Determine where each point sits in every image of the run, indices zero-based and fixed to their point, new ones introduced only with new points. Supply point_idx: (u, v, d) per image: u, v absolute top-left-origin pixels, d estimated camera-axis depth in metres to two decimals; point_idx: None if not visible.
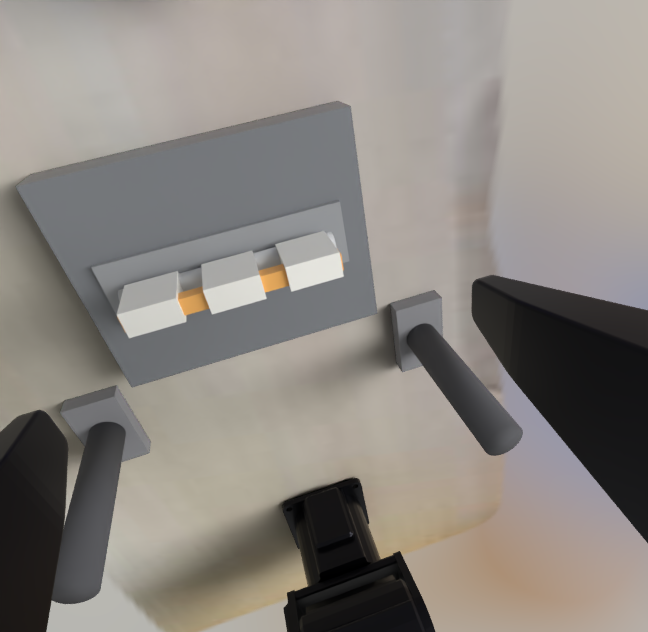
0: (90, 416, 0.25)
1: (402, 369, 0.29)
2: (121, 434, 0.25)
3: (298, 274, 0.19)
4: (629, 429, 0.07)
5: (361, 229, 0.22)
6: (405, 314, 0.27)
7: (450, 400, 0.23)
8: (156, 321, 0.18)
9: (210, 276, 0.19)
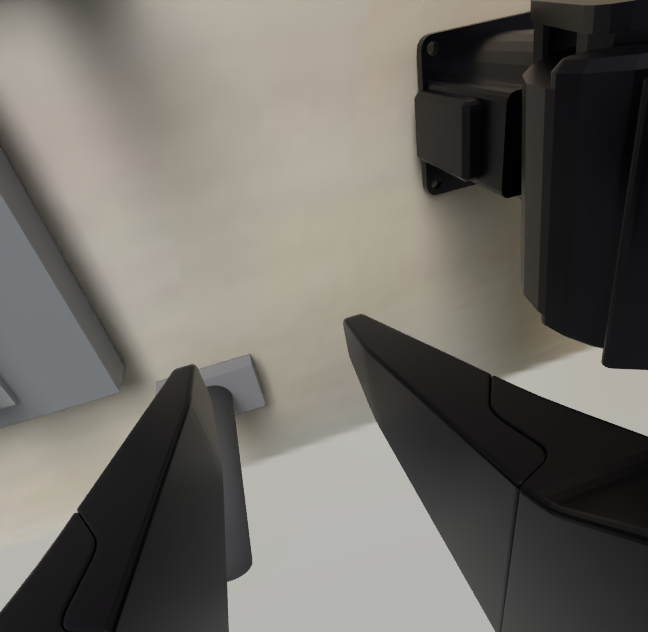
0: None
1: None
2: None
3: None
4: (449, 493, 0.06)
5: None
6: None
7: None
8: None
9: None
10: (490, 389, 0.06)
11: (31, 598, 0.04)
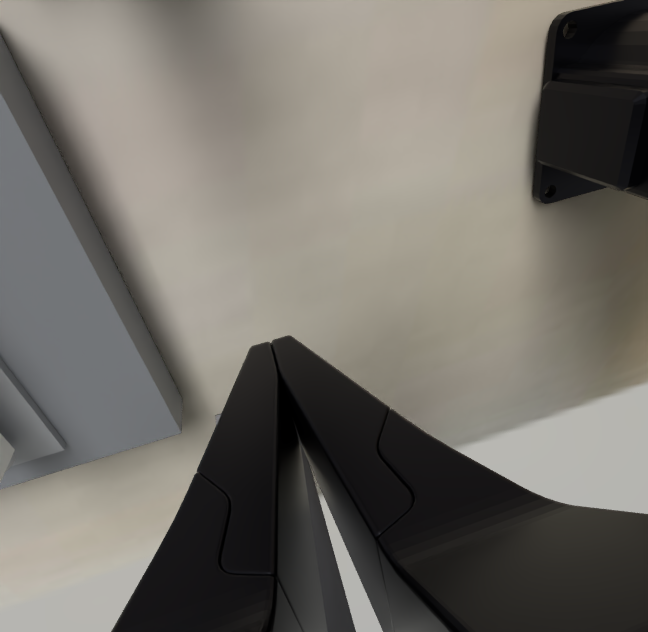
0: None
1: None
2: None
3: None
4: (348, 530, 0.06)
5: None
6: None
7: None
8: None
9: None
10: (383, 424, 0.06)
11: (180, 546, 0.05)
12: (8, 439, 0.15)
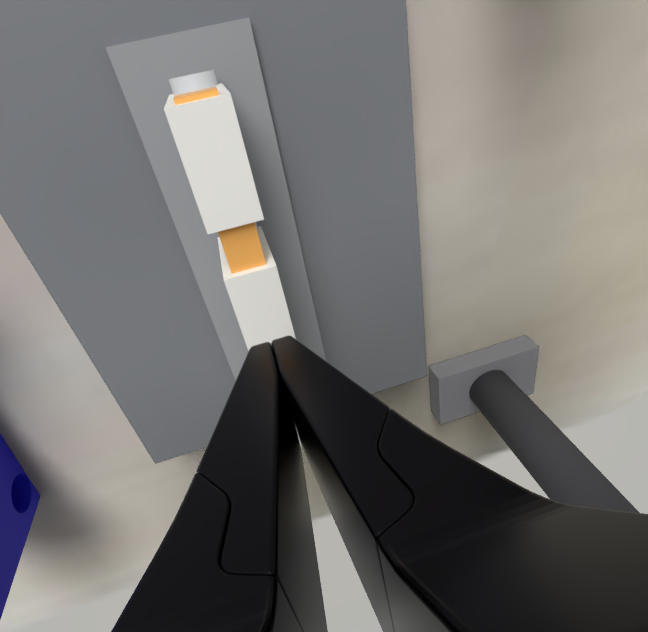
0: (456, 400, 0.21)
1: None
2: (493, 380, 0.20)
3: (224, 206, 0.09)
4: (348, 529, 0.06)
5: None
6: None
7: None
8: None
9: None
10: (383, 424, 0.06)
11: (180, 546, 0.05)
12: None
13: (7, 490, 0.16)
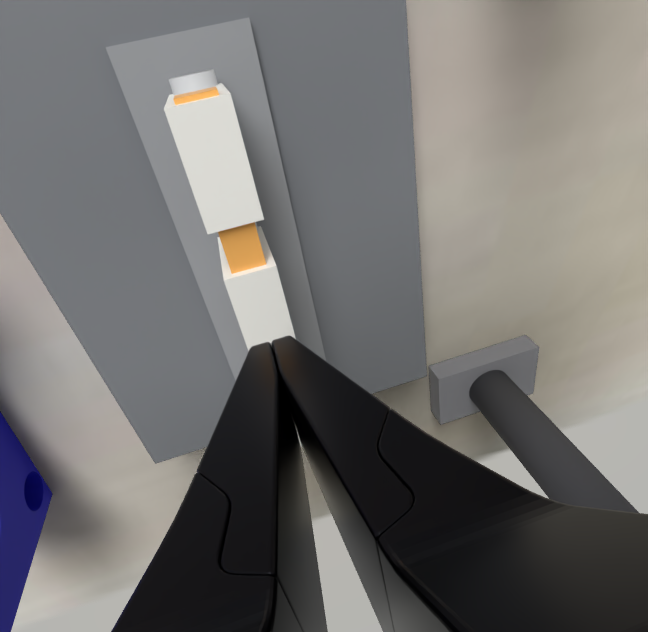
0: (456, 400, 0.21)
1: None
2: (493, 380, 0.20)
3: (224, 206, 0.09)
4: (348, 529, 0.06)
5: None
6: None
7: None
8: None
9: None
10: (383, 424, 0.06)
11: (180, 546, 0.05)
12: None
13: (20, 488, 0.16)
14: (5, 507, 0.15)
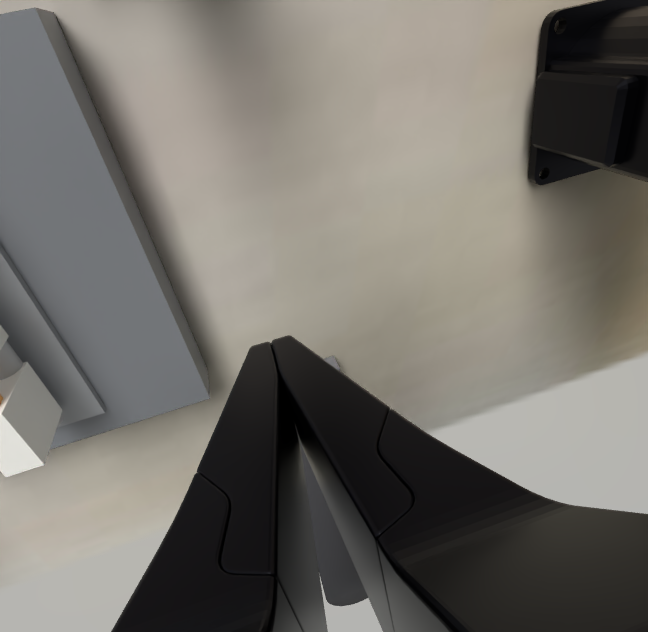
0: None
1: None
2: None
3: None
4: (348, 530, 0.06)
5: None
6: None
7: None
8: (8, 442, 0.13)
9: None
10: (384, 425, 0.06)
11: (180, 547, 0.05)
12: None
13: None
14: None
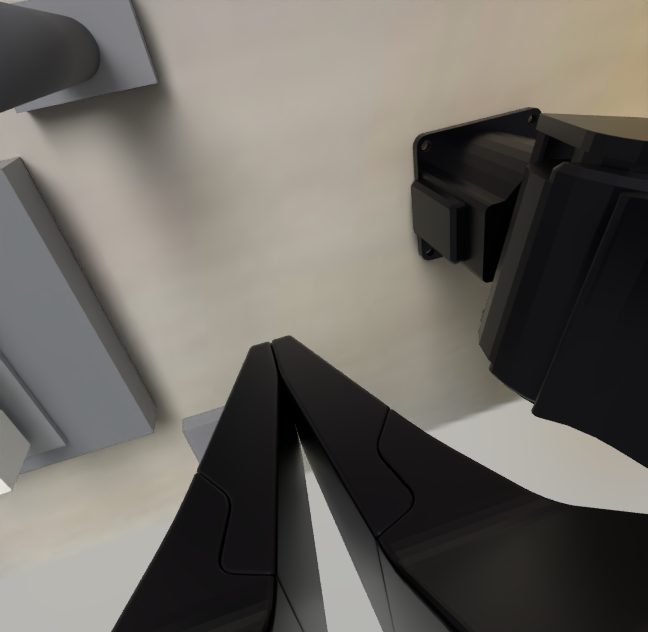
0: (206, 446, 0.26)
1: (151, 82, 0.16)
2: None
3: None
4: (348, 529, 0.06)
5: None
6: None
7: None
8: None
9: None
10: (383, 424, 0.06)
11: (180, 546, 0.05)
12: (25, 437, 0.21)
13: None
14: None
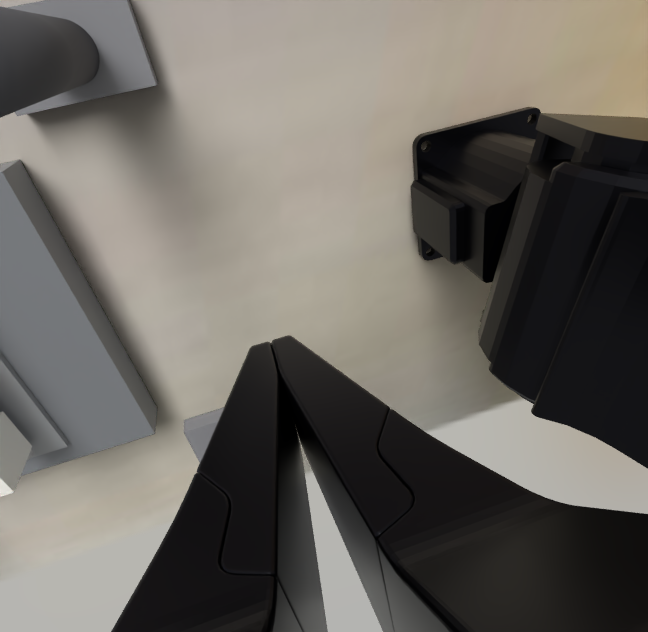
0: None
1: (150, 85, 0.16)
2: None
3: None
4: (348, 530, 0.06)
5: None
6: None
7: None
8: None
9: None
10: (383, 425, 0.06)
11: (180, 547, 0.05)
12: (27, 439, 0.21)
13: None
14: None
